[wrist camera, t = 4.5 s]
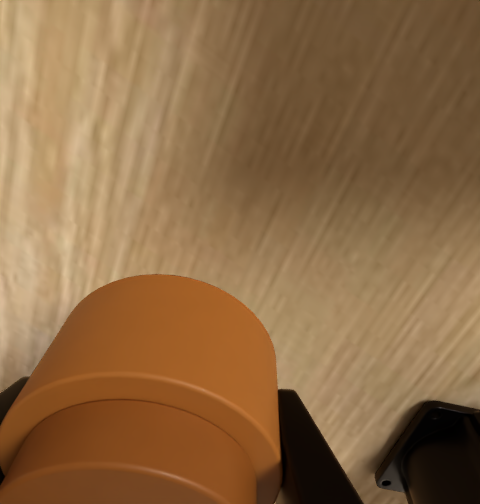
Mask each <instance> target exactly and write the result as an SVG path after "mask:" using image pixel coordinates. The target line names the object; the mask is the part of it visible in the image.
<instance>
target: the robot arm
mask: <svg viewBox="0 0 480 504" xmlns="http://www.w3.org/2000/svg"><path fill="white" fill-rule="evenodd" d="M29 378H30V377H23V378H21V379H19V380H18V381H17V382H15V383H14V384H13V385H11V386H10V387H8V388H7V389H6V390H4V391H3V392H2V393H0V426H1V423H2V421H3V419H4V418H5V416H6V414H7V412H8V411H9V409H10V407H11V406H12V404H13V403H14V401H15V400H16V398H17V397H18V395H19V393H20V392H21V390H22V389H23V387H24V386H25V384H26V382H27V381H28V379H29ZM278 406H279V421H280V436H281V447H282V461H283V480H282V486H281V489H280V492H279V494H278V497H277V499H276V504H364V503H363V502H362V500H361V498H360V497H359V495H358V493H357V492H356V490H355V488H354V487H353V485H352V483H351V482H350V480H349V478H348V477H347V475H346V473H345V472H344V470H343V469H342V467H341V465H340V464H339V462H338V460H337V459H336V457H335V455H334V454H333V452H332V450H331V449H330V447H329V445H328V444H327V442H326V440H325V439H324V437H323V435H322V434H321V432H320V430H319V429H318V427H317V425H316V424H315V422H314V421H313V419H312V417H311V416H310V414H309V412H308V411H307V409H306V407H305V406H304V404H303V402H302V401H301V399H300V397H299V396H298V394H297V393H296V391H294V390H290V389H279V390H278ZM4 478H5V475H4V474H3V471H2V469H1V466H0V485H1V483H2V481H3V479H4ZM375 480H376V483H377V486H378V487H380V488H383V489H388V490H394V491H399V492H404V493H405V495H406V498H407V501H408V504H480V410H479V409H474V408H469V407H464V406H460V405H455V404H450V403H445V402H441V401H429V402H427V403H425V404H424V405H423V406H422V408H421V409H420V411H419V412H418V414H417V415H416V416H415V418H414V419H413V421H412V422H411V424H410V425H409V426H408V428H407V429H406V431H405V432H404V434H403V435H402V437H401V438H400V439H399V441H398V442H397V444H396V445H395V447H394V448H393V449H392V451H391V452H390V454H389V455H388V457H387V458H386V459H385V461H384V462H383V464H382V465H381V467H380V468H379V470H378V471H377V472H376V474H375Z"/></svg>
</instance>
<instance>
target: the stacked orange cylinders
mask: <svg viewBox="0 0 480 504" xmlns="http://www.w3.org/2000/svg"><path fill="white" fill-rule="evenodd" d="M0 466H1V469H2V471H3V474H4V475H5V478H4V479H3V481H2V483H1V485H0V504H274V503H275V501H276V499H277V497H278V494H279V492H280V489H281V486H282V480H283V461H282V447H281V436H280V421H279V406H278V386H277V371H276V356H275V351H274V347H273V344H272V341H271V339H270V336H269V334H268V332H267V331H266V329H265V328H264V326H263V324H262V323H261V322H260V320H259V319H258V318H257V317H256V316H255V314H254V313H253V312H252V311H251V310H250V309H249V308H247V307H246V306H245V305H244V304H243V303H242V302H240V301H239V300H238V299H236V298H235V297H233V296H232V295H230V294H228V293H227V292H225V291H223V290H221V289H219V288H217V287H215V286H212V285H210V284H207V283H205V282H202V281H198V280H195V279H191V278H187V277H181V276H175V275H162V274H153V275H139V276H134V277H128V278H124V279H121V280H117V281H114V282H112V283H109V284H107V285H105V286H103V287H100V288H99V289H97V290H95V291H94V292H92V293H91V294H89V295H88V296H87V297H85V298H84V299H83V300H82V301H81V302H80V303H79V304H78V305H77V306H76V307H75V309H74V310H73V311H72V312H71V314H70V315H69V317H68V318H67V320H66V322H65V323H64V325H63V326H62V328H61V329H60V331H59V332H58V334H57V336H56V337H55V339H54V340H53V342H52V343H51V345H50V347H49V348H48V350H47V351H46V353H45V354H44V356H43V357H42V359H41V361H40V362H39V364H38V365H37V367H36V368H35V370H34V372H33V373H32V375H31V376H30V378H29V379H28V381H27V382H26V384H25V386H24V387H23V389H22V390H21V392H20V393H19V395H18V397H17V398H16V400H15V401H14V403H13V404H12V406H11V407H10V409H9V411H8V412H7V414H6V416H5V418H4V419H3V421H2V423H1V426H0Z"/></svg>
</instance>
